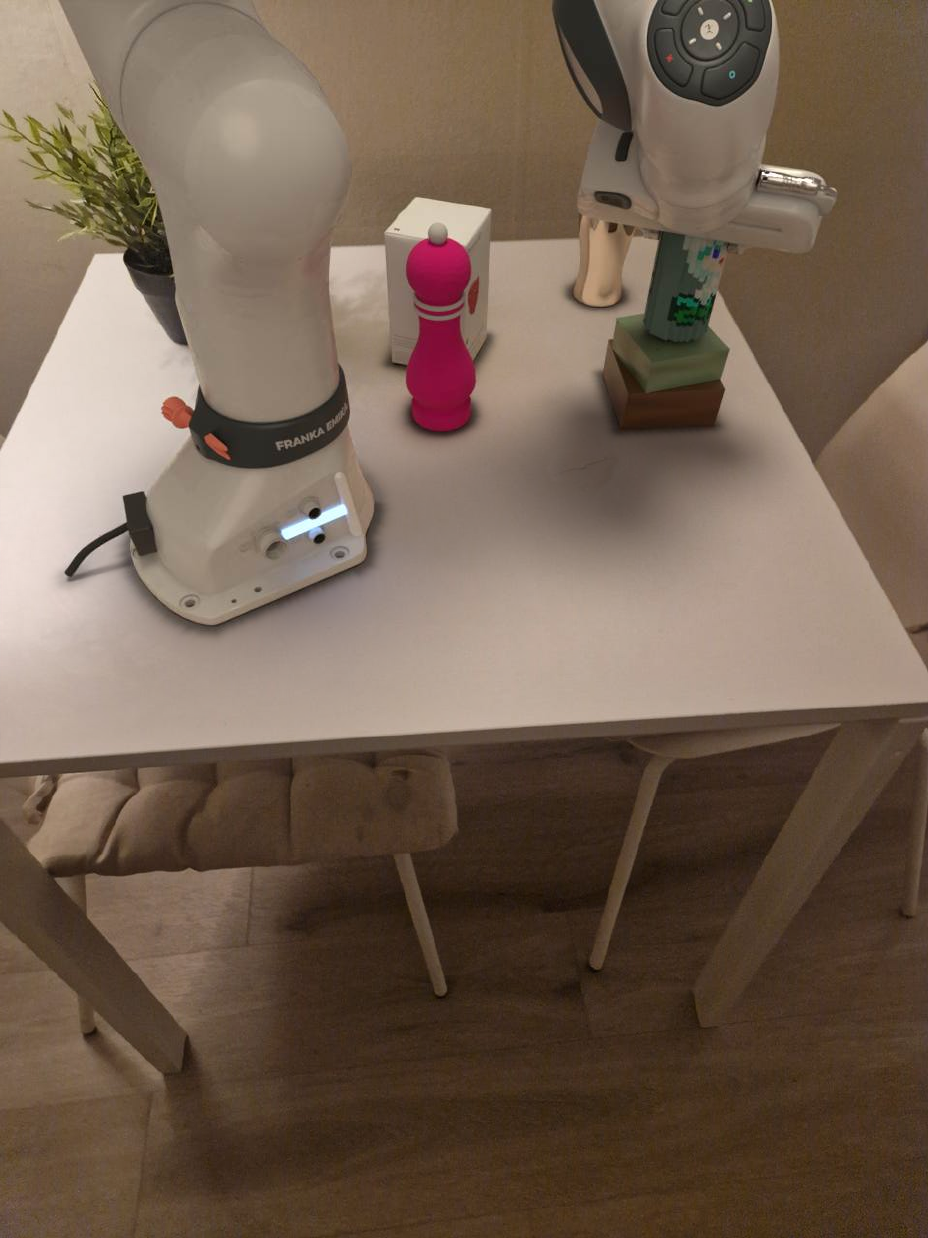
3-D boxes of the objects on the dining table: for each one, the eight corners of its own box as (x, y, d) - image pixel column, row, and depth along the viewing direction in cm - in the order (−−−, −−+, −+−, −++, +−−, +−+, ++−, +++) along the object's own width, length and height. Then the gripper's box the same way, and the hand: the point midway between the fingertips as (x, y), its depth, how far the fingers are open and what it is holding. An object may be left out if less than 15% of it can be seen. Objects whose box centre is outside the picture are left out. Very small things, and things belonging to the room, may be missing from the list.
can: (683, 348, 77) (723, 185, 65) (632, 325, 80) (661, 164, 68) (717, 323, 80) (761, 163, 68) (666, 302, 82) (700, 143, 71)
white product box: (464, 379, 89) (466, 245, 77) (390, 364, 91) (380, 231, 79) (489, 337, 94) (494, 206, 83) (418, 323, 96) (413, 193, 84)
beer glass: (571, 278, 103) (585, 153, 91) (624, 282, 102) (646, 157, 91) (567, 306, 99) (582, 178, 87) (624, 311, 98) (647, 182, 86)
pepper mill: (478, 395, 87) (482, 206, 71) (472, 437, 82) (475, 245, 67) (412, 391, 87) (402, 202, 72) (403, 432, 83) (390, 240, 67)
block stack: (714, 425, 84) (735, 358, 78) (621, 430, 83) (634, 363, 77) (689, 370, 90) (706, 304, 84) (602, 374, 89) (613, 308, 83)
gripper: (856, 141, 57) (821, 222, 71) (583, 103, 62) (598, 185, 75) (828, 231, 58) (799, 293, 72) (561, 186, 63) (580, 253, 76)
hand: (694, 238), depth 74 cm, fingers closed on can, 6 cm apart
